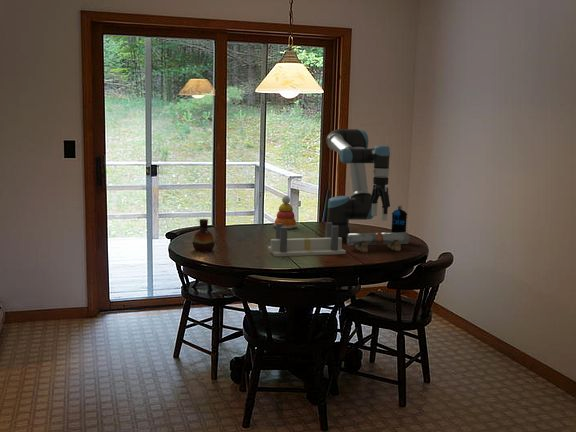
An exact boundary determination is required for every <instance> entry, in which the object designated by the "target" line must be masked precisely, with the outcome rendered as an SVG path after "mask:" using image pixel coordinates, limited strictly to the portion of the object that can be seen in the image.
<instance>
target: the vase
mask: <svg viewBox="0 0 576 432" xmlns="http://www.w3.org/2000/svg"><path fill="white" fill-rule="evenodd" d="M208 224H209V220H208V218H207V219H206V218H201V219H199V230H197V231H196V232H195V233H194V235H193V237H192V239H191V240H192V241H191V242H192V246H193V247H192V248H193V249H194V251H196V252H198V251H200V252H199V253H207V252H206V251H209V252H212V251H213V249H214V248H215V244H216V238H215V236H214V234H213V232H211V231H210V230H209V229H208V226H209V225H208ZM211 250H212V251H211Z"/></svg>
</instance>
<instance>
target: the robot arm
mask: <svg viewBox="0 0 576 432" xmlns="http://www.w3.org/2000/svg"><path fill="white" fill-rule="evenodd" d="M325 143H326V145H327V147H328V148H329V149H330V150H331V151H335V152H336V153H337V154H338V155H339V161H340V163H342V164H349V169H350V179H351V181H350V182H351V189H352V194H351V195H350V196H349V195H338V196H333V197H331V198H329V199H328V202H327V222H332V223H333V226H339V230H338V237H341V238H342V242H347V234H352V233H351V229H350V226H349V222H350V220H351V221H355V220H358V221H359V220H360V221H361V220H365V221H367V220H372V219H373V218H374V217H377V216H378V204H379V202H378V201H379V198H380V200H381V204H382V206H381V221H382V222H383V221H388V214H389V213H388V211H389V210H388V209H389V208H390V207H391V201H390V195H389V187H386V186H387V185H388V184H389V175H390V173H389V172H390V155H391V152H390V151H391V150H390V149H391V148H390V146H389V145H375V146H374V148H369V136H368V133H367V132H366V131H365V130H364V129H360V128H355V129H354V128H353V129H352V128H348V129H347V128H338V129H334V130H332V131H331V132H329V133H328V134H327V136H326V139H325ZM366 164H373V171H372V172H373V176H374V177H373V179H372V180H373V182H372V183H373V186H372V191H371V193H370V192H369V187H368V186H369V185H368V180H367V170H366ZM325 231H326V229H325V230H324V233H323V238H325Z"/></svg>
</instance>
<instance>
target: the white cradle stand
mask: <svg viewBox="0 0 576 432" xmlns="http://www.w3.org/2000/svg"><path fill="white" fill-rule="evenodd" d="M325 230H326V231H325ZM325 230H324V233H325V238H324V237H306V238H304V237H303V238H302V237H297V238H288V228H287V227H283V224H282V223H278V224H276V227H275V238H272V239H270V245H267V250H268V251H269V252H270V254H272V255H273V256H274V257H293V256H294V257H296V256H297V257H298V256H299V257H300V256H323V255H346V254H347V250H346V249H344V248H343V246H342V245H343V241H342V238H341V237H338V230H339V226H333V223H332V222H328V221H326V222H325Z"/></svg>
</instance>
